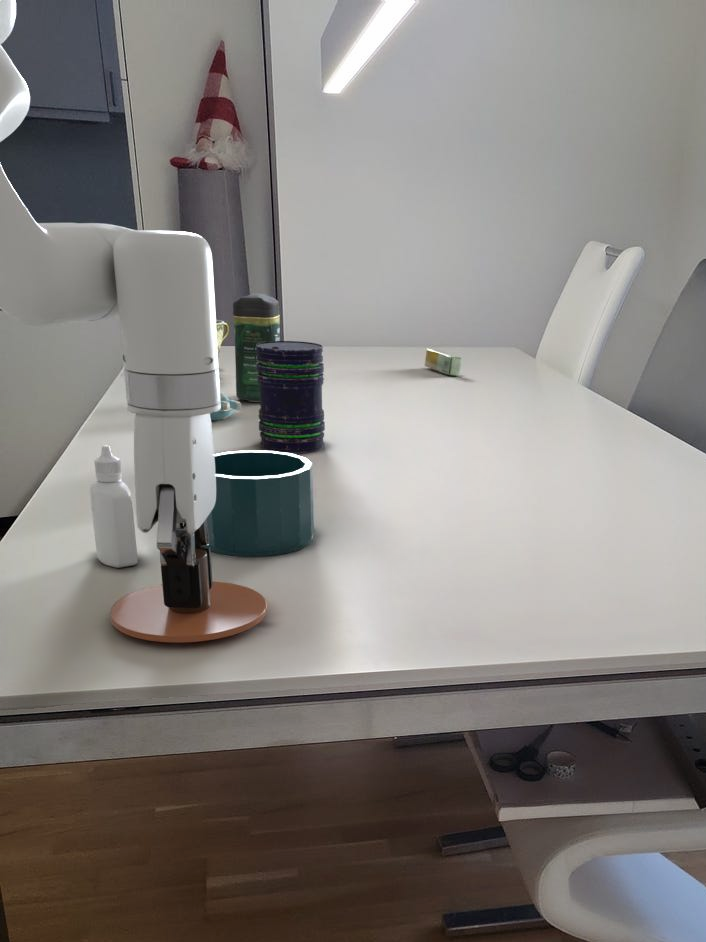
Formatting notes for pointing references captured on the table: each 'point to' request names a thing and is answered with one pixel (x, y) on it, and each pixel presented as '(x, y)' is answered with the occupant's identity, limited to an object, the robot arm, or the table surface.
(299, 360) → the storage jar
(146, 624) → the tin lid
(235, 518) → the tin
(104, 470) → the eye dropper bottle
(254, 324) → the coffee jar
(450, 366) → the medication box
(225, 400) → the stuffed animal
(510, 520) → the table surface
